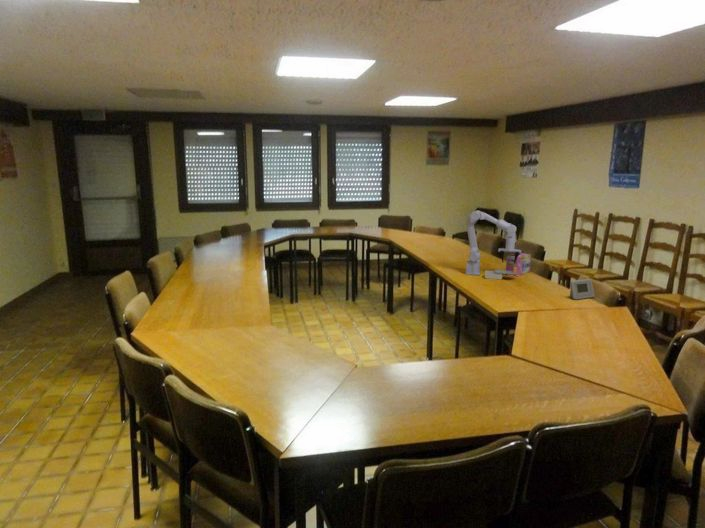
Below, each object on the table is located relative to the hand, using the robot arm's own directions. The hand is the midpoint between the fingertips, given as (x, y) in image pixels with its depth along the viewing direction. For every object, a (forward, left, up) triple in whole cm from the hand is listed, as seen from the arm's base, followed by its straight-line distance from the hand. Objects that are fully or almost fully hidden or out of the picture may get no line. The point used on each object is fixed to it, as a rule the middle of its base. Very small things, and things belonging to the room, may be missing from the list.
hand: (508, 262), depth 325 cm
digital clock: (+40, -40, -11) cm, 58 cm away
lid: (-2, -5, -6) cm, 8 cm away
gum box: (+8, +15, -11) cm, 20 cm away
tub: (-9, -5, -10) cm, 15 cm away
